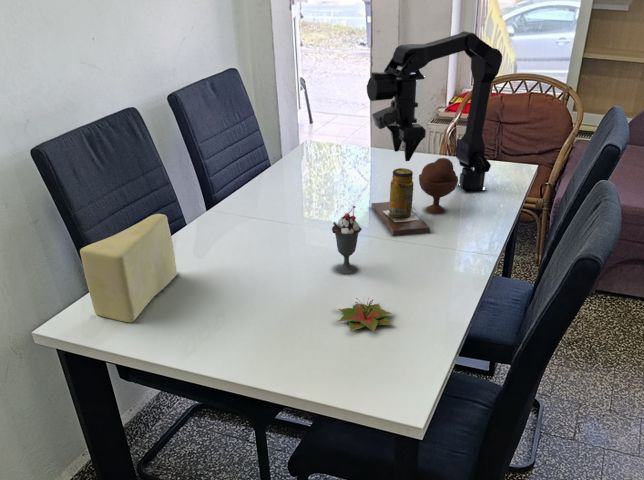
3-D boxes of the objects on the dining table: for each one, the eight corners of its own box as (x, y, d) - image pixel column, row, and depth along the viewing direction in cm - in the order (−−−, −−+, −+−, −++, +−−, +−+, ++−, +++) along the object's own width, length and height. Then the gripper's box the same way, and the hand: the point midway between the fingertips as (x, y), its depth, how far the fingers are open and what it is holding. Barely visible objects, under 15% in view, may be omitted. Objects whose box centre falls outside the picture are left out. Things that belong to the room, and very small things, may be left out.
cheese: (156, 270, 149) (146, 207, 140) (193, 277, 146) (185, 214, 138) (91, 315, 131) (76, 247, 123) (132, 324, 128) (118, 255, 120)
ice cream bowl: (453, 204, 187) (459, 152, 179) (455, 219, 178) (460, 164, 169) (416, 202, 188) (420, 150, 180) (416, 217, 178) (420, 162, 170)
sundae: (364, 265, 152) (366, 204, 144) (355, 277, 147) (356, 215, 139) (338, 261, 154) (338, 200, 146) (328, 273, 149) (327, 210, 141)
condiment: (406, 208, 179) (409, 165, 173) (419, 219, 173) (423, 175, 166) (382, 211, 177) (384, 168, 171) (394, 223, 171) (397, 178, 164)
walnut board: (404, 205, 186) (405, 200, 185) (429, 232, 170) (430, 227, 169) (371, 208, 183) (371, 203, 183) (393, 236, 167) (393, 230, 166)
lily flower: (403, 330, 128) (404, 310, 126) (344, 339, 125) (345, 318, 123) (383, 302, 138) (384, 282, 135) (328, 309, 135) (328, 289, 133)
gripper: (366, 91, 179) (364, 148, 187) (387, 107, 164) (384, 168, 172) (404, 89, 181) (401, 146, 190) (428, 105, 166) (424, 165, 175)
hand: (401, 156), depth 182 cm, fingers open, 9 cm apart
